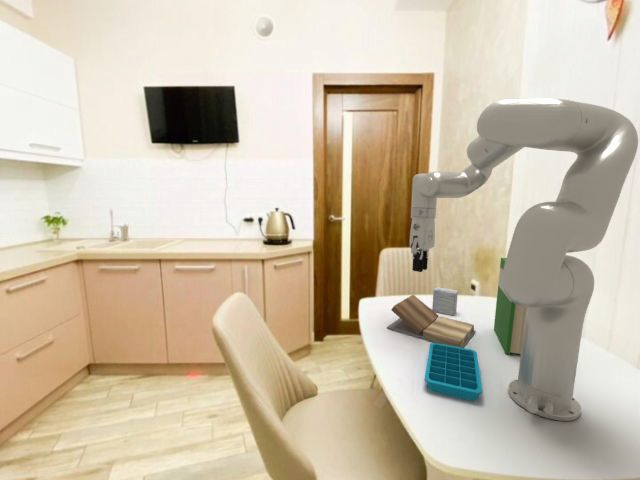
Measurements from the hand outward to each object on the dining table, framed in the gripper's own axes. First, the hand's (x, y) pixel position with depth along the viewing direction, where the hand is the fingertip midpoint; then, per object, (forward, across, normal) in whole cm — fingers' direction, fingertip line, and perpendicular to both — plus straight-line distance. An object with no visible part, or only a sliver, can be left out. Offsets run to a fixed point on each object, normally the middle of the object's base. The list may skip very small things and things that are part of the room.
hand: (419, 269), depth 102 cm
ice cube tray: (+20, -22, -18) cm, 35 cm away
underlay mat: (+19, 0, -5) cm, 20 cm away
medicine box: (+20, +19, -3) cm, 27 cm away
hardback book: (+19, +7, -27) cm, 34 cm away
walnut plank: (+16, 0, +1) cm, 16 cm away
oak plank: (+19, 0, -11) cm, 22 cm away
